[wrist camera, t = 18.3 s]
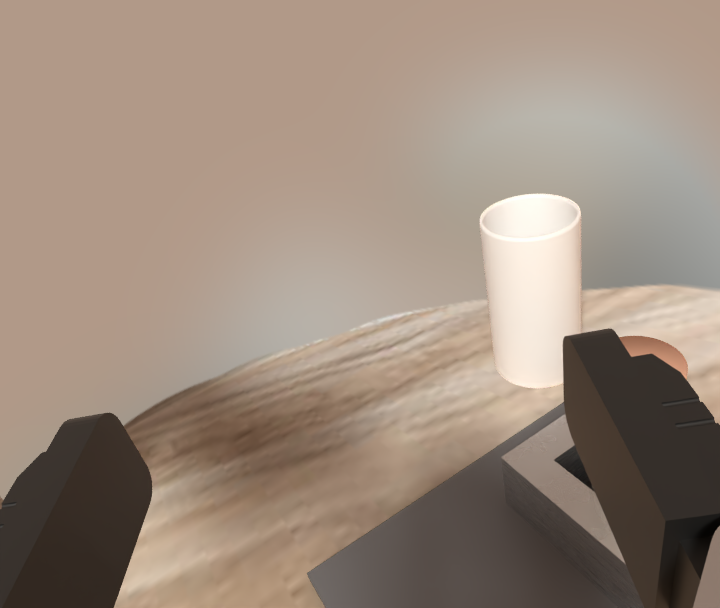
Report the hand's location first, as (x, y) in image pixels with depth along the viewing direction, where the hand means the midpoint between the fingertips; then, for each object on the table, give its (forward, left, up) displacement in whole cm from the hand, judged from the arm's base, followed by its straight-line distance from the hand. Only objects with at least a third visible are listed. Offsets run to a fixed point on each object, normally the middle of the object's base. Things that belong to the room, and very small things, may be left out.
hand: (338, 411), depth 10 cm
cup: (-26, +29, -32) cm, 51 cm away
